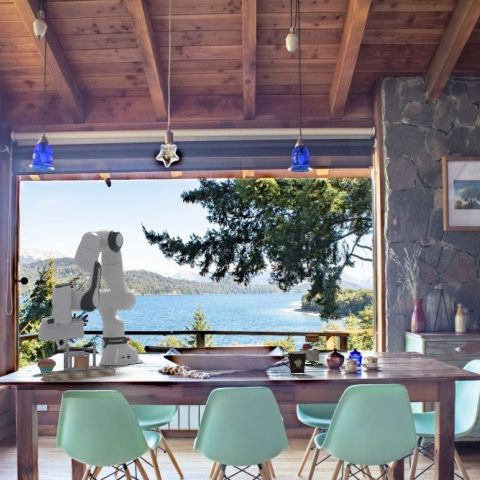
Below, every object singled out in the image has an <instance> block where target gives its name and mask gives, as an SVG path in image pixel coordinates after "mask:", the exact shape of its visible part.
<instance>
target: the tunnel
mask: <svg viewBox="0 0 480 480" xmlns="http://www.w3.org/2000/svg"><path fill="white" fill-rule="evenodd" d="M68 356H69V374H71V373H72V367H73V358H74V357H75V356H87V362H86V372H89V366H90V352H88V351H87V352H86V351H85V350H78V351H69V354H68ZM64 368H66V351H64V352H63V369H64Z"/></svg>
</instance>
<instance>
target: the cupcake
mask: <svg viewBox="0 0 480 480" xmlns="http://www.w3.org/2000/svg"><path fill="white" fill-rule="evenodd" d="M41 349H42V357H43V358H42V359H40V360H39V361H38V362H37V364H36V365H37V367H38V369H39V370H40V374H41V375H43V373H44V372H50V371H54V368H55V367H57V362H56V360H55V359H52V358H48V357H47V358H46V356H45V351H44V348H41Z"/></svg>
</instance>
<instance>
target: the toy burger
mask: <svg viewBox="0 0 480 480" xmlns="http://www.w3.org/2000/svg"><path fill="white" fill-rule="evenodd" d="M304 339H305V340H304V341H305V342H306V343H303V344H302V348H299V351H303V352H306V361H309V362H307V363H311V364H317V363H318V362H320V349H318V348H313V346H312V345H311V344H310V343H320V335H319V334H315V333H313V334H305V335H304ZM315 361H318V362H315ZM322 363H323V362H322ZM322 363H318V364H322ZM322 365H323V364H322Z"/></svg>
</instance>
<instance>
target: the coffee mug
mask: <svg viewBox="0 0 480 480" xmlns="http://www.w3.org/2000/svg"><path fill="white" fill-rule="evenodd" d="M287 354H288V355H286V354H283V355H281V356H280V360H279V361H280V362H281V363H282V364H283V365H284V366H286V367H287V368H289V371H290V374H291V373H304V374H305V372H306V371H305V370H306V365H305V362H306V361H307V360H306V352H303V351H300V350H295V351H288V352H287ZM283 357H286V358H287V359H288V363H289V365H288V364H286V363H284V362H283V360H282V359H283Z"/></svg>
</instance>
